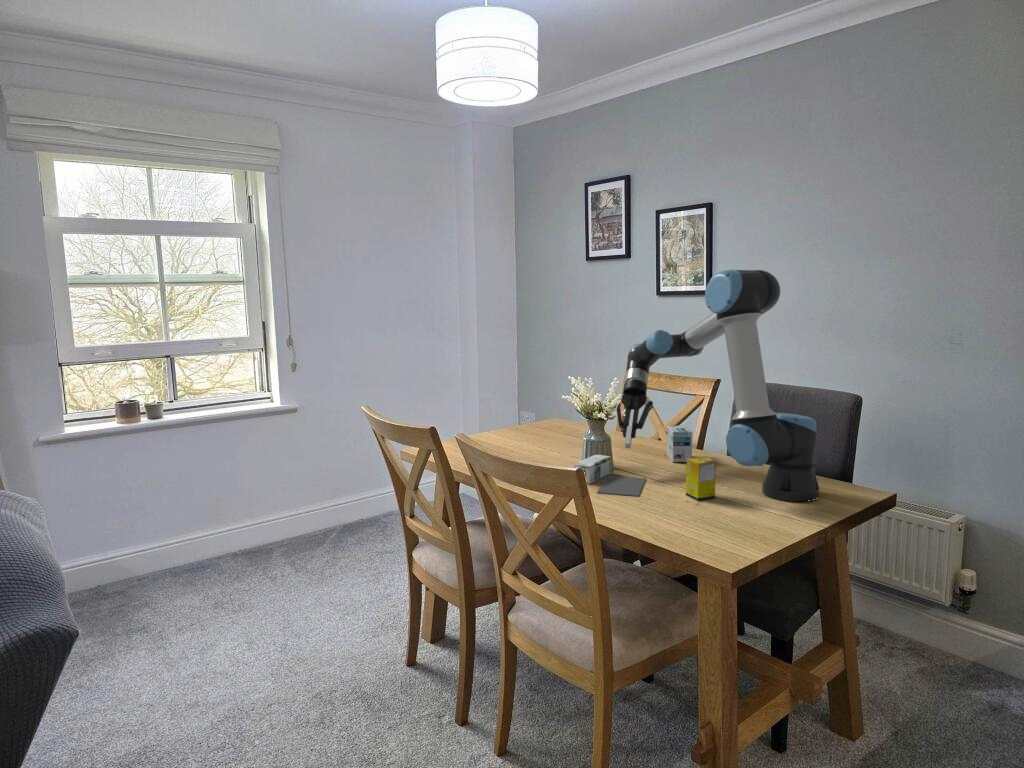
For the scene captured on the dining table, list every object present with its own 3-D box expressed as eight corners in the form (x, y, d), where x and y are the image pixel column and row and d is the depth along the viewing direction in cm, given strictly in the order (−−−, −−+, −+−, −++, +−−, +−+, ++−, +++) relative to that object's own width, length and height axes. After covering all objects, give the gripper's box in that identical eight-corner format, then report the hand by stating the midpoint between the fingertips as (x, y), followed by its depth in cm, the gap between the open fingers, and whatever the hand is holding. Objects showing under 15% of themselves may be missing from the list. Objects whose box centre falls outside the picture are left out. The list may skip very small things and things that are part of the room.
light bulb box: (692, 463, 228) (693, 431, 227) (672, 463, 229) (673, 431, 227) (684, 455, 239) (685, 425, 237) (665, 455, 239) (666, 425, 238)
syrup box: (611, 473, 217) (589, 484, 205) (595, 470, 220) (572, 481, 208) (612, 456, 216) (590, 466, 204) (595, 453, 219) (573, 463, 207)
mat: (607, 476, 214) (607, 475, 213) (646, 479, 210) (646, 478, 210) (596, 493, 197) (596, 492, 197) (638, 496, 193) (638, 495, 193)
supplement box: (702, 492, 196) (703, 455, 195) (715, 498, 191) (716, 460, 189) (684, 495, 194) (685, 457, 193) (697, 501, 189) (698, 463, 187)
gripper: (656, 392, 225) (649, 453, 212) (617, 391, 229) (608, 450, 216) (655, 378, 220) (648, 440, 206) (614, 377, 223) (605, 438, 210)
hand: (627, 445), depth 211 cm, fingers closed
